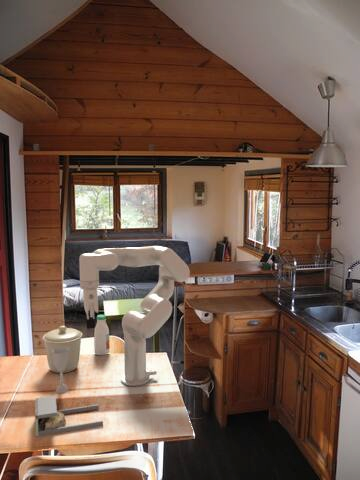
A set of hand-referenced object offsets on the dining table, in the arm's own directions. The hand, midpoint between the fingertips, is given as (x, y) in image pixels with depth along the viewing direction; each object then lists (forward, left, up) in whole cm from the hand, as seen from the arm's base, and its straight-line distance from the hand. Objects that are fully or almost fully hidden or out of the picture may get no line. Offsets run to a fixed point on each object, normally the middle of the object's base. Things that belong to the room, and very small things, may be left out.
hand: (90, 327), depth 178 cm
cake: (+17, +19, -30) cm, 39 cm away
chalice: (+12, -8, -29) cm, 33 cm away
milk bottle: (-10, -44, -29) cm, 54 cm away
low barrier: (+11, +18, -29) cm, 36 cm away
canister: (+10, -30, -29) cm, 43 cm away
